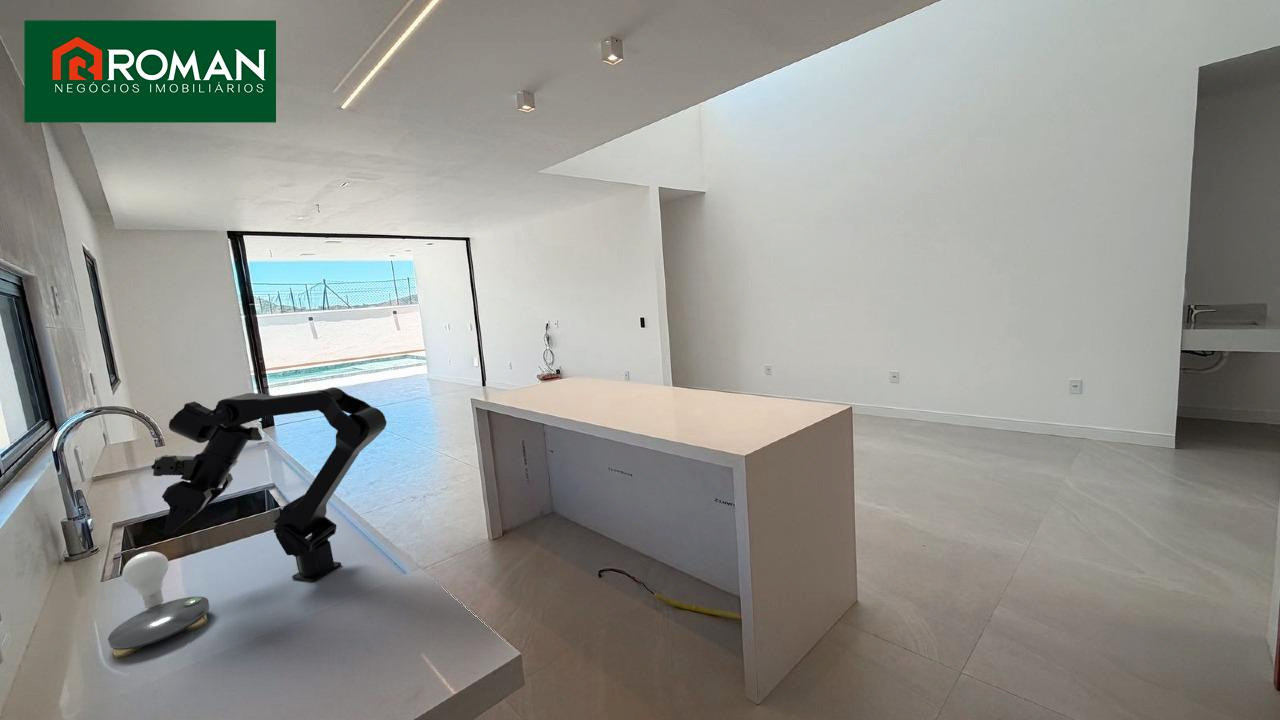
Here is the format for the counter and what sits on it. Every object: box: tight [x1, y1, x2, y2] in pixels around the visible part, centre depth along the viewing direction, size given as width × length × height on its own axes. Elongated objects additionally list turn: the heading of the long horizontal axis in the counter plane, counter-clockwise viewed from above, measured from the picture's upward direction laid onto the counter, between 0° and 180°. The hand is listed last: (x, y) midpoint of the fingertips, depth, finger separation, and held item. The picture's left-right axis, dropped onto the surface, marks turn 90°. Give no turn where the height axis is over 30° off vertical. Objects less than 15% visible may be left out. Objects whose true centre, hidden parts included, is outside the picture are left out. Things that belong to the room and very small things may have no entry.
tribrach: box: [107, 596, 210, 659], centre depth 90 cm, size 13×13×3 cm
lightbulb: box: [121, 551, 170, 609], centre depth 98 cm, size 6×6×11 cm
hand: (176, 527), depth 99 cm, fingers open, 9 cm apart
